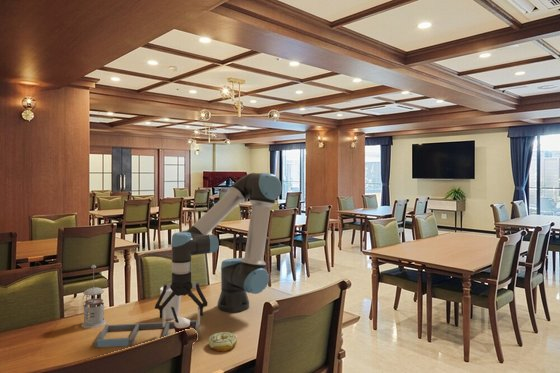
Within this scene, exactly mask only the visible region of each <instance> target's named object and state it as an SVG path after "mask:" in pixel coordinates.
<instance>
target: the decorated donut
mask: <svg viewBox="0 0 560 373" xmlns="http://www.w3.org/2000/svg"><path fill="white" fill-rule="evenodd" d="M237 342H238V337H237V335H236V334H234V333H233V332H232V333H231V332H229V331H227V332H226V331H222V332H216V333H214V334H212V335H210V336H209V337H208V344H209V347H210V348H211V349H213V350H214V351H217V352H227V351H231V350H232V349H234V348H235V346H236V345H237Z"/></svg>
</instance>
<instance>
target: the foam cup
mask: <svg viewBox="0 0 560 373" xmlns="http://www.w3.org/2000/svg"><path fill="white" fill-rule="evenodd" d="M159 290H160V291H159V292H160V295H161V293H162V291H163V286H161V287H160V289H159ZM172 292H173V291H172V290H171V288H169V289H168V290H166V293H165V295H164V297H163V299H162V301H161V305H162V304H163V302H164V301H165V300H166V299H167V298H168V297H169V295H170V294H171V293H172ZM160 295H159V296H160ZM181 301H182V295H180V296H177V295H175V296H174V297H173V298H172V299H171V300H170V301H169V302H168V304H167V305H166V306H165V307H164V308H165V320H175V318H174V315H173V312H172V309H171V307H174V309H175V312H176V315H177V318H178V317H179V316H180V307H181Z"/></svg>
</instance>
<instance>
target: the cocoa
mask: <svg viewBox="0 0 560 373" xmlns="http://www.w3.org/2000/svg"><path fill="white" fill-rule="evenodd" d="M171 309H172V312H173V315H174V318H175V319H173V322H174V327H173V328H174V329H173V330H174V332H175V333H176V332H179V331H182V330H185V329H190V330H191V327H192V326H191V325H192V323H190V321H191V320H190V319H188V318H185V317H183V316H178V318H177V315H176V312H175V309H174V307H171Z"/></svg>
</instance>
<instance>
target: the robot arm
mask: <svg viewBox="0 0 560 373" xmlns="http://www.w3.org/2000/svg"><path fill="white" fill-rule="evenodd" d="M282 188H283V186H282V183H281V180H280V179H279V177H278V176H277V175H275V174H274V173H269V172H262V173H259V172H257V173H256V172H251V173H248V174H246V175H244V176H242V177H241V178H239V179H238V180H236V182H234V183H233V184H232V185H231V186H230V187H229V188H228V192H227V193H226V194H225V195H223V196H222V197H221V198H220V199H219V200H218V201H217V202H216V203H215V204H214V205H213V206H212V207H211V208H210V209H209V210H208V211H206V212H205V213H204V214H203V215H202V216H201V217H200V218H199V219H198V220H197V221H196V222H195V223H194V224H192V225H191V227H189V228H188V229H186V230H181V231H180V232H179V231H178V232H175V233H173V234H172V235H171V245H170V246H171V272H172V273H171V283H170V284H167V283H164V285H163V286H162V287H163V291H162V293H161V295H159V298H158V300H157V302H156V303H155V306H154V309H156V310H158V311H159V318H160V319H162V322H163V327H165V322H166V319H165V308H164V307H165V306H166V305H167V304H168V302H169V301H170V300H171V299H172V298H173V297H174V296H175V295H177V296H180V295H181V296H187V295H188V297H190V298H191V300H192V301H193V302H194V303H195V304H196V305H197V320H198V325H199V326H200V325H201V317H202V316H203V315H204V308H205V307H208V301H207V299H206V297H205V295H204V293H203V292H202V290H201V288H200V287H201V286H200V282H199V281H198V282H197V281H196V282H195V283H192V272H191V271H192V256H198V255H199V256H200V255H206V254H212V253H217V251H218V249H219V246H220V245H219V244H220V243H219V242H220V241H219V238H218V237H217V235H216V234H210V233H211V231H213V230H214V229H215V228H216V227H217V226H218V225H219V224H220V223H221V222H222V221H223V220H224V219H225V218H226V217H227V216H228V215H229V214H230V213H232V211H234V209H235V208H237V206H238V205H240V204H243V203H245V202H246V201H247V200H248V199H249V202H250V204H251V210H250V218H249V225H248V231H247V238H246V245H245V250H244V252H245V253H244V256H243V257H238V258H237V257H234V258H227V259H224V260H222V261H221V265H220V270H221V271H220V276H221V277H220V278H221V279H220V282H221V284H220V285H221V288H220V290H221V291H220V293H219V297H218V301H217V309H218V310H219V311H221V312H227V313H237V312H242V311H243V312H244V311H246V310H248V309H249V308H250V300H249V296H248V294H253V295H256V294H260V293H262V292H263V291H264V290H265V289H266V288H267V286H268V284H269V282H270V274H269V273H268V271H267V270H266V265H267V263H266V261H265V260H264V256H265V249H266V243H267V237H268V236H267V235H268V228H269V222H270V214H271V208H272V207H273V206H274V205H275V203H276V200H277V199H279V197H280V196H281V195H282V194H281V193H282V191H283V190H282ZM169 288H171V290H172V291H173V292H172V293H171V294H170V295H169V297H168V298H167V299H166V300H165V301H164V302H163V304H162V299H163V297H164V295H165V293H166V290H168V289H169ZM192 288H194V290H196V293H197V294H198V296H199V298H200V299H199V298H198V297H197V296H196V294H194V293H193V291H192Z"/></svg>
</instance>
